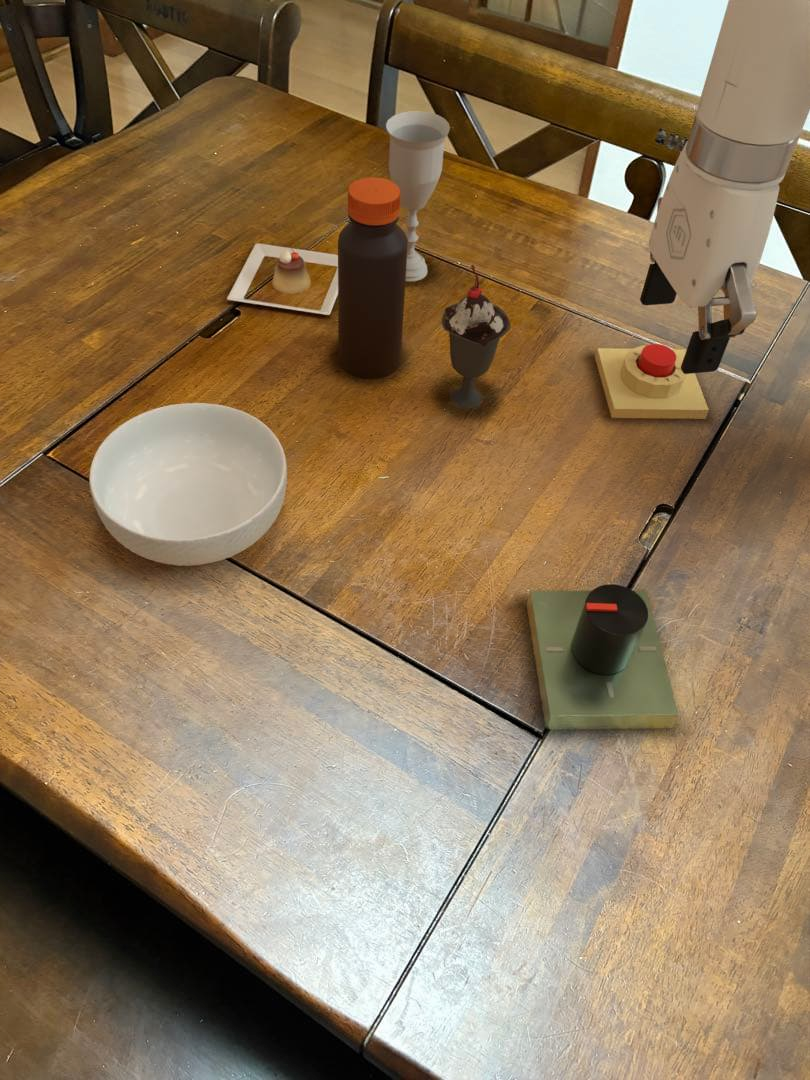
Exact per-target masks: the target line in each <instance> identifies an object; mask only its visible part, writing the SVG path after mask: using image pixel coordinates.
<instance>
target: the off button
mask: <svg viewBox="0 0 810 1080" xmlns="http://www.w3.org/2000/svg"><path fill="white" fill-rule="evenodd" d="M675 361H676V354H675V352H674V351H673V350H672V348H671V347H669V346H666V345H663V344H659V343H652V344H651V343H650V344H646V346H645V347H644V348H643V350H642V352H641V356H640V359H639V362H638V368H639V369H640V370H641V371H642V372H643V373H644V374H647V375H650V376H652V377H658V378H665V377H668V376H669V375H670V374H671V373H672V370H673V367H674V364H675Z"/></svg>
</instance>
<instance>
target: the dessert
mask: <svg viewBox="0 0 810 1080" xmlns="http://www.w3.org/2000/svg"><path fill="white" fill-rule="evenodd" d="M265 257H270V258H277V261H276V264H275V268H274V273H273V277H272V280H271V285H272V287H273V289H275V290H276V291H278V292H280V293H282V294H286V295H287V294H288V295H295V294H300V293H303V292H306V291H307V290H308V289H310V287H311V286H312V279H311V277H310V275H309V271H308V269H307V266H306V263H311V264H317V265H325V266H331V267H337V268H336V271H335V273H334V276H333V278H332V280H331V283H330V285H329V288H328V290H327V293H326V294H325V295H326V296H325V297H324V300H323V303H322V305H321V308H320V309H312V308H307V307H301V306H294V305H286V304H280V303H273V302H267V301H259V300H253V299H248V298H245V296H246V294H247V293H248V290H249V288H250V286H251V284H252V282H253V280H254V279H255V276H256V274H257V272H258V271H259V268H260V266H261V264H262V262H263V260H264V258H265ZM337 299H338V254H334V253H327V252H320V251H313V250H306V249H300V248H292V247H291V246H289V247H287V246H279V245H272V244H266V243H259V242H256V243H255V244H254V245H253V247H252V250H251V252H250V254H249V255H248V257H247V259H246V261H245V263H244V265H243V267H242V269H241V270H240V273H239V274H238V276H237V278H236V280H235V283H234V284H233V286H232V288H231V290H230V292H229V294H228V295H227V297H226V300H227V301H231V302H239V303H246V304H252V305H259V306H265V307H271V308H278V309H286V310H290V311H291V310H292V311H297V312H298V311H299V312H305V313H311V314H317V315H324V316H330V315H331V313H332V310H333V308H334V305H335V303H336V300H337Z"/></svg>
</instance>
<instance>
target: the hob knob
mask: <svg viewBox="0 0 810 1080" xmlns="http://www.w3.org/2000/svg"><path fill="white" fill-rule="evenodd" d="M590 591H591V592H590V593H589V595H588V596H587V598H586V601H585V604H584V607H583V610H582V613H581V616H580V619H579V622H578V624H577V627H576V630H575V633H574V636H573V639H572V651H573V654H574V656H575V658H576V659H577V661H578V662H579V663H580V664H581V665H582V666H583V667H585V668H586V669H588V670H590V671H592V672H594V673H598V674H604V675H609V674H615V673H618V672H620V671H622V670H623V669H624V668H625V667H626V666H627V665H628V664H629V662H630V659H631V657H632V655H633V653H634V650H635V648H636V646H637V643H638V641H639V639H640V637H641V634H642V632H643V630H644V628H645V625H646V623H647V620H648V609H647V606H646V604H645V602H644V601H643V599H642V598H641V597H640V596H639V595H638V594H637V593H635V592H634V591H635V590H633V589H631V588H629V587H626V586H624V585H620V584H613V583H612V584H609V583H607V584H602V585H599V586H597V587H594V588H593V589H592V590H590Z"/></svg>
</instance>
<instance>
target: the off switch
mask: <svg viewBox="0 0 810 1080" xmlns="http://www.w3.org/2000/svg"><path fill="white" fill-rule="evenodd" d="M645 346H647V344H646V345H643V344H642V345H639V346H637V347H634V348H621V347H619V348H618V347H617V348H616V347H615V348H614V347H597V348H596V351H595V356H594V359H595V363H596V366H597V370H598V373H599V378H600V381H601V384H602V388H603V391H604V395H605V399H606V403H607V406H608V409H609V414H610V417H611V419H677V420H680V419H683V420H685V419H686V420H689V419H690V420H705V419H707V416H708V413H709V411H710V409H709V406H708V404H707V402H706V399H705V395H704V394H703V393H704V392H703V391H702V387H701V385H700V383H699V381H698V380H699V379H698V377H697V374H696V373H691V374H684V373H683V372H682V370H681V365H682V362H683V359H684V356H685V353H686V350H687V349H683V348H682V349H678V348H677V349H676V348H675V349H672V348H671V349H672V350H673V351H674V352H675V354H676V361H675V364H674V367H673V370H672V373H671V374H670V375H669V376H668V377H665V378H658V377H652V376H650V375H647V374H644V373H643V372H642V371H641V370H640V369H639V368H638V362H639V359H640V356H641V352H642V350H643V348H644V347H645Z"/></svg>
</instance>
